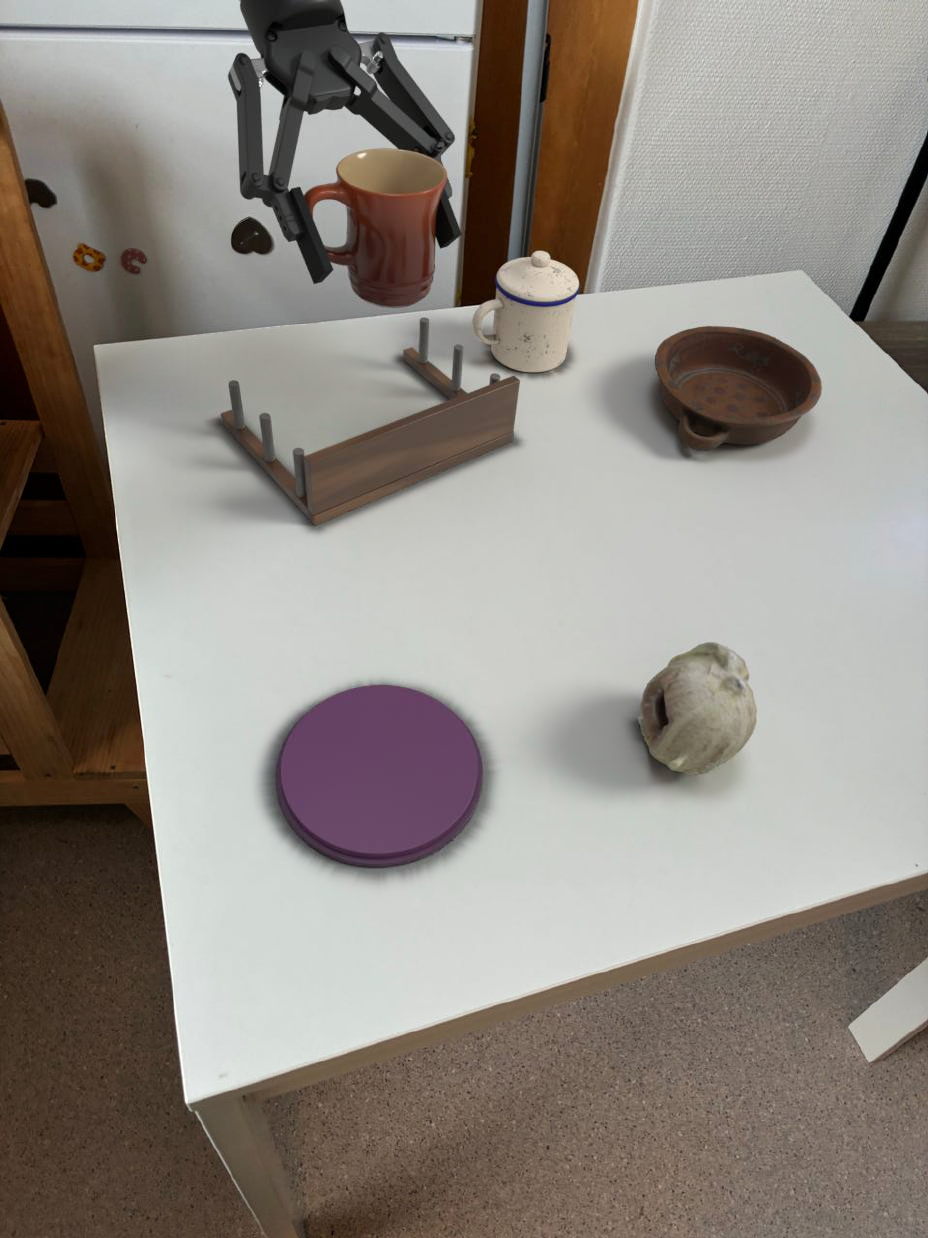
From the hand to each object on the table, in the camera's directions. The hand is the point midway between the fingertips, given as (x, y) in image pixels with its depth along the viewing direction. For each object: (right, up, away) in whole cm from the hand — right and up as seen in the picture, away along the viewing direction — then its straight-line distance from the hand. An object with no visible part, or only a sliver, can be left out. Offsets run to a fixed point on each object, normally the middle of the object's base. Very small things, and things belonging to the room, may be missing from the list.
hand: (389, 258), depth 74 cm
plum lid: (0, -41, -9) cm, 41 cm away
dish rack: (-4, -11, +17) cm, 21 cm away
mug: (-2, -1, +5) cm, 5 cm away
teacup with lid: (+12, 0, +29) cm, 31 cm away
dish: (+35, -7, +24) cm, 43 cm away
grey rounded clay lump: (+23, -39, -5) cm, 46 cm away
